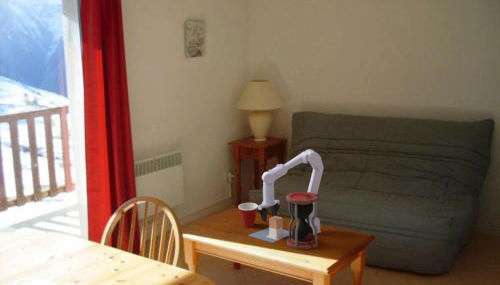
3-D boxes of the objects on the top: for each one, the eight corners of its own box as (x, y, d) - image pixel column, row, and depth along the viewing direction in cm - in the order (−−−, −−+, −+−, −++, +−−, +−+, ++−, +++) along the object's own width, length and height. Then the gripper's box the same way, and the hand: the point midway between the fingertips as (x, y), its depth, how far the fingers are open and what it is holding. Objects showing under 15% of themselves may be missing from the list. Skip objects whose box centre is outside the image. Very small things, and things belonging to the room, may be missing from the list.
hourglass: (310, 251, 270) (310, 201, 266) (281, 246, 278) (280, 197, 274) (324, 241, 283) (324, 193, 279) (295, 236, 292) (295, 190, 287)
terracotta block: (282, 226, 291) (282, 217, 290) (276, 229, 287) (276, 220, 286) (275, 225, 294) (275, 215, 293) (269, 227, 291) (269, 218, 290)
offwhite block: (282, 236, 292) (282, 226, 291) (276, 238, 288) (276, 229, 287) (275, 234, 295) (275, 225, 294) (269, 236, 292) (269, 227, 291)
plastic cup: (236, 228, 306) (236, 207, 304) (241, 222, 316) (241, 202, 314) (255, 230, 303) (255, 208, 301) (260, 223, 314) (259, 203, 312)
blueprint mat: (295, 233, 296) (295, 232, 296) (271, 243, 283) (271, 242, 283) (271, 226, 308) (271, 226, 308) (247, 235, 294) (247, 235, 294)
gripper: (272, 190, 299) (272, 215, 301) (253, 196, 289) (254, 221, 291) (282, 192, 294) (282, 217, 297) (263, 198, 284) (264, 224, 286)
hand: (269, 219), depth 294 cm, fingers open, 7 cm apart
